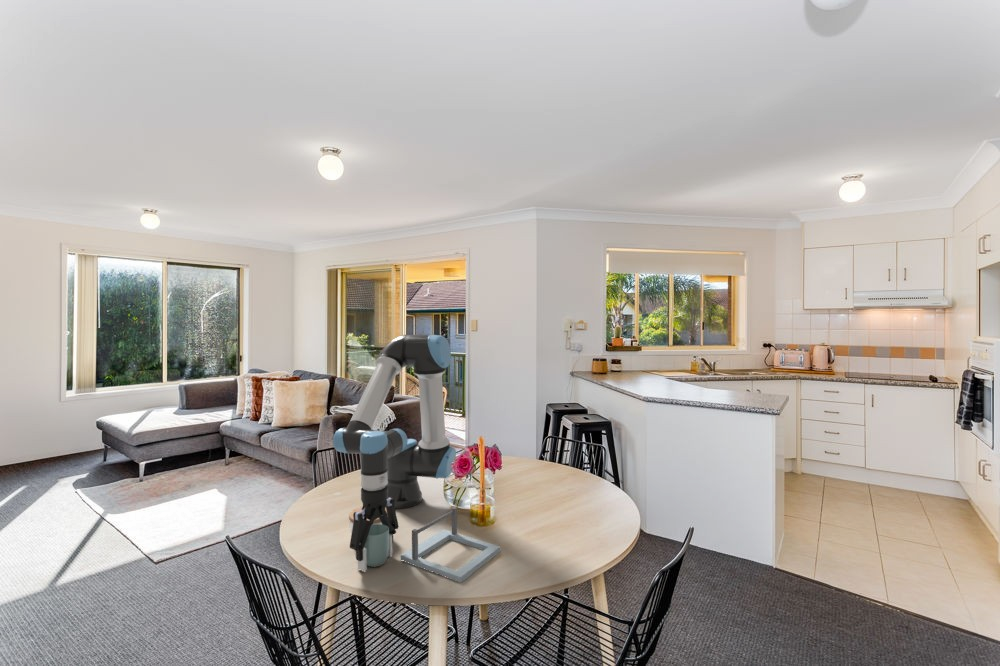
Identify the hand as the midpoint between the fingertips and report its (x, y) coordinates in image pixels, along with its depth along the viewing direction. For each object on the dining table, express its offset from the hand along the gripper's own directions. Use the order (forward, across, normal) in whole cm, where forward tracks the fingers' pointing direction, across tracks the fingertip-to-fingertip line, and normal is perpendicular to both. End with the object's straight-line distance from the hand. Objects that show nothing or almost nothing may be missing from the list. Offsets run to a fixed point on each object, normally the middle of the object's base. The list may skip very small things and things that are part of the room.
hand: (375, 562), depth 140 cm
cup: (0, 0, 0) cm, 0 cm away
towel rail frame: (0, +15, -16) cm, 22 cm away
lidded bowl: (0, +9, +12) cm, 15 cm away
